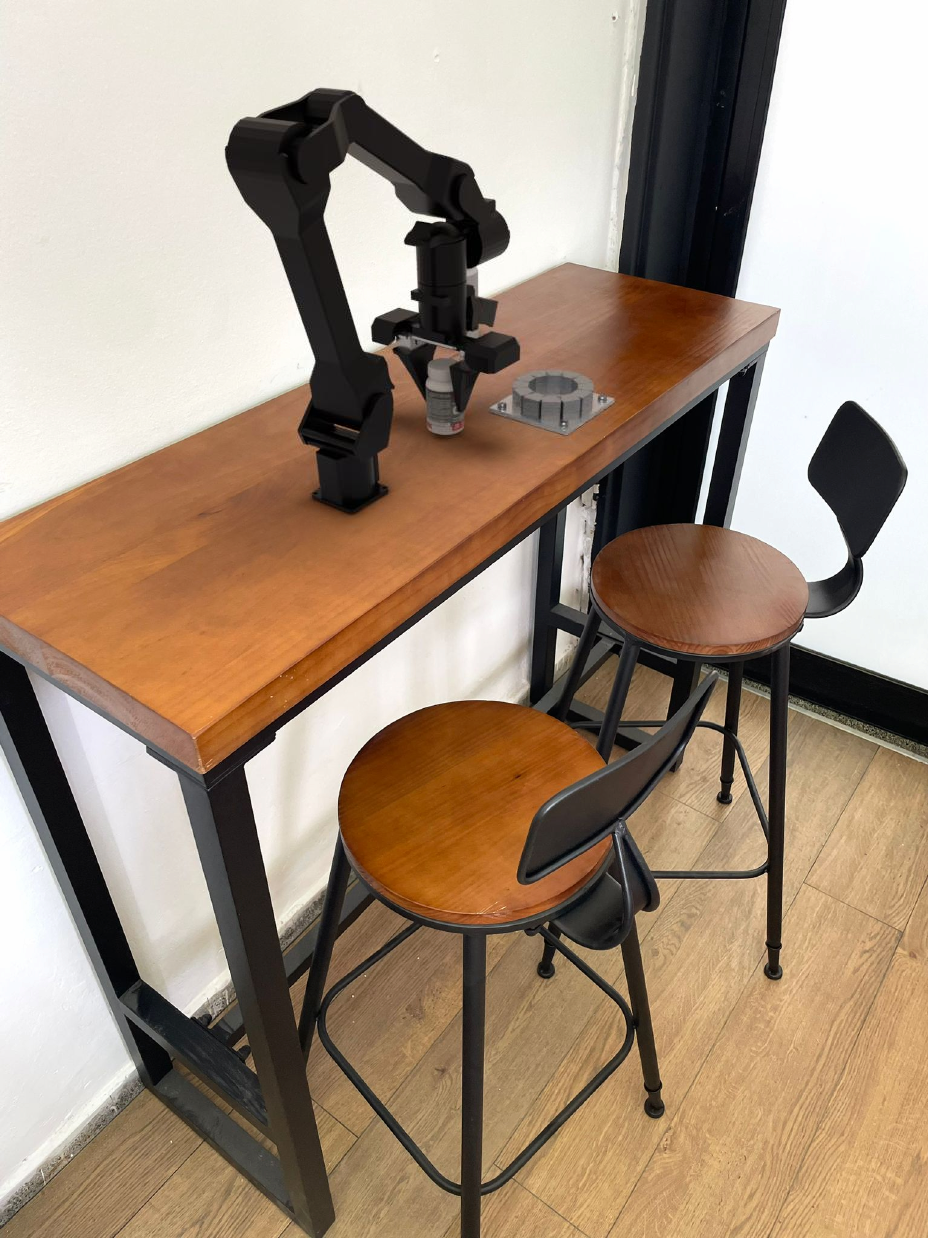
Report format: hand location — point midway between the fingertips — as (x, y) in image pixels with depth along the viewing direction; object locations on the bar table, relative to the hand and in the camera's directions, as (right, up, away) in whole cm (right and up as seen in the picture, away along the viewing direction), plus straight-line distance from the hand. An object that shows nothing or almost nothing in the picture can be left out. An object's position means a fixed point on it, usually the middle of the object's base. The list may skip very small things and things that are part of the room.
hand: (445, 406), depth 115 cm
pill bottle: (0, -2, +2) cm, 3 cm away
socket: (+14, +2, +7) cm, 16 cm away
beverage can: (+1, +16, +27) cm, 32 cm away
